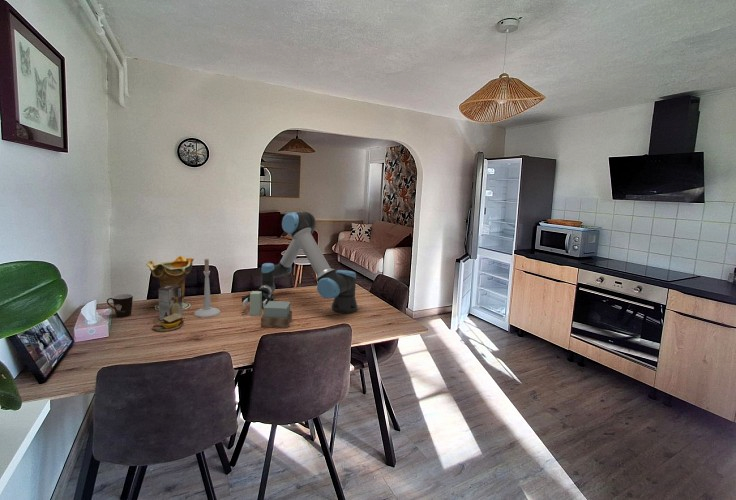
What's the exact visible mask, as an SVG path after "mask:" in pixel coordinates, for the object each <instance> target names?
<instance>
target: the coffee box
mask: <svg viewBox="0 0 736 500" xmlns="http://www.w3.org/2000/svg"><path fill="white" fill-rule="evenodd" d="M157 291H158V305H159V310H158V311H159V314H158V315H159V320H162V321H164V320H163V318H164V317H167V316H170V315H172V314H174V313H177V314H180V315H182V316H183V314H184V313H183V310H184V309H183V310H182V302H183V301H182V286H180V285H168V286H165V287H162V288H161V287H160V288H157Z"/></svg>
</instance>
